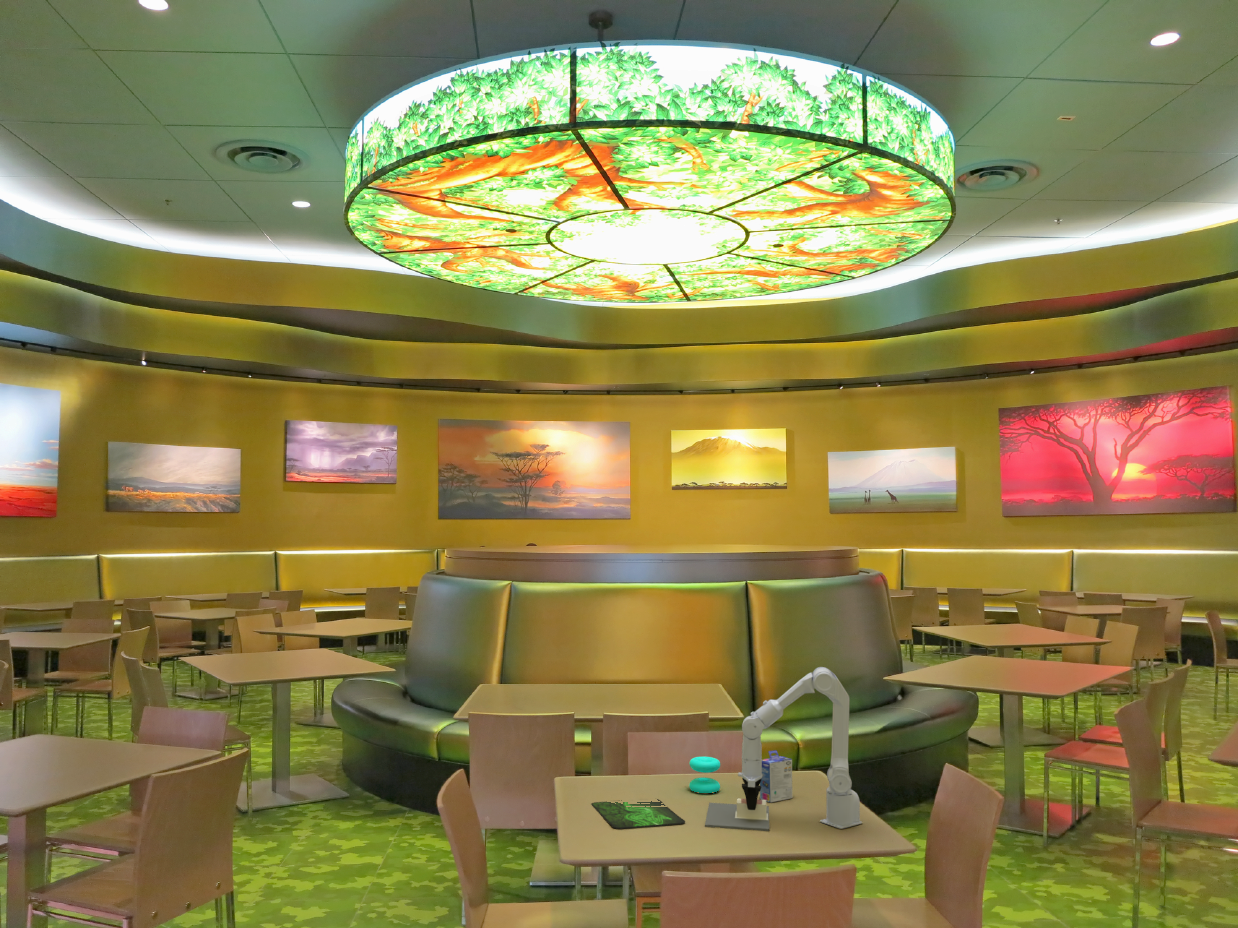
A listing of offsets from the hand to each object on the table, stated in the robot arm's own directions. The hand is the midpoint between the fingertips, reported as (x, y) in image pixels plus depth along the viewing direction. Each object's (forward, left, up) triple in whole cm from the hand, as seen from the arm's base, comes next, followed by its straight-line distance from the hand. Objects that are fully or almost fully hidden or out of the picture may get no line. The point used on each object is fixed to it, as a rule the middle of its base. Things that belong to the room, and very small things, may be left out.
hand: (751, 805), depth 267 cm
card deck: (0, 0, -3) cm, 3 cm away
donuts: (-8, -29, -4) cm, 31 cm away
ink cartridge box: (-21, -10, -4) cm, 23 cm away
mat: (+3, -3, -3) cm, 5 cm away
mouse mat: (+25, -22, -4) cm, 34 cm away
